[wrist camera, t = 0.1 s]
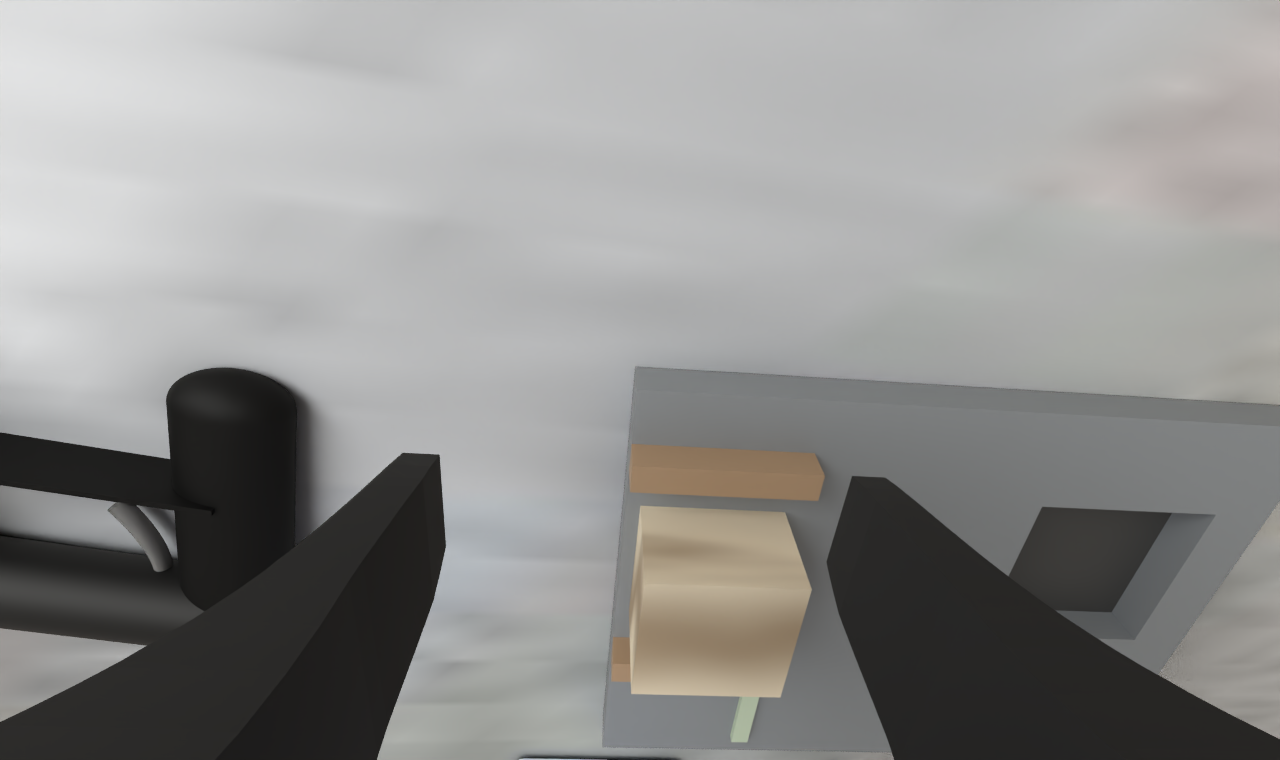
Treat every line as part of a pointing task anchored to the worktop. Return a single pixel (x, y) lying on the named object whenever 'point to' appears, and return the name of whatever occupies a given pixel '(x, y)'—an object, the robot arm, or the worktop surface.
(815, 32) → the worktop surface
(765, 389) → the slate board
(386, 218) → the worktop surface
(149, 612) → the door handle
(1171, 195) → the worktop surface
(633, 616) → the birch block
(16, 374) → the worktop surface
